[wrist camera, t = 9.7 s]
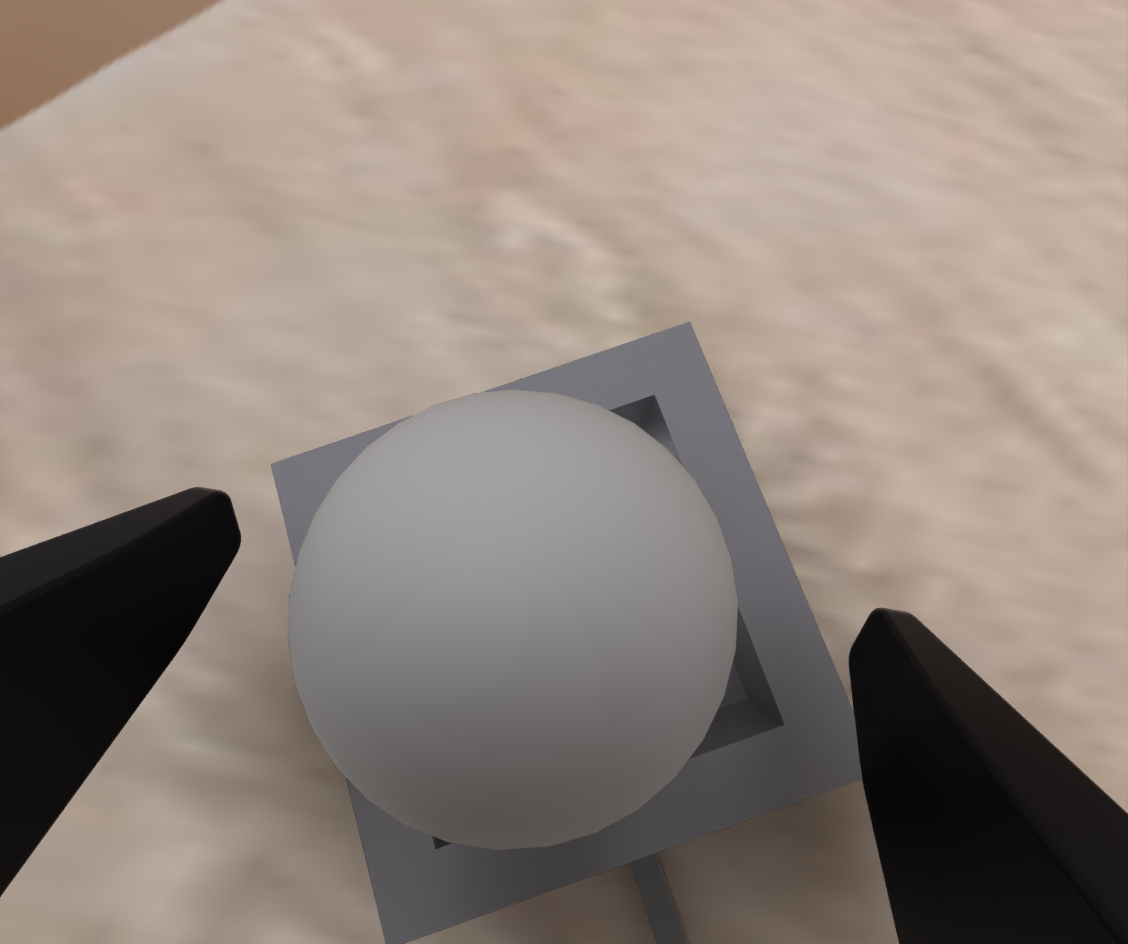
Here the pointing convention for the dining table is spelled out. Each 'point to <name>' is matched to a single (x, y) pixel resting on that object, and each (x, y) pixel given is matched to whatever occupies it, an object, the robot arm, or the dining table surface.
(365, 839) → the grey square pan
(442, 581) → the lightbulb
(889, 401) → the dining table surface
